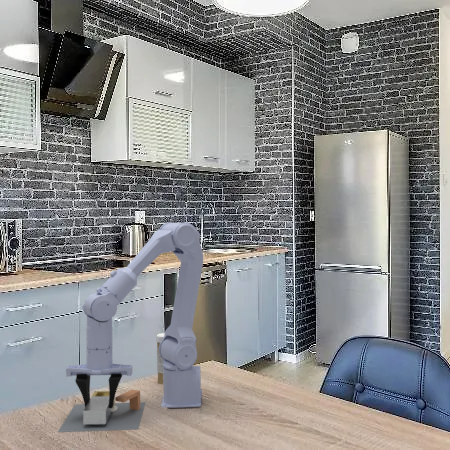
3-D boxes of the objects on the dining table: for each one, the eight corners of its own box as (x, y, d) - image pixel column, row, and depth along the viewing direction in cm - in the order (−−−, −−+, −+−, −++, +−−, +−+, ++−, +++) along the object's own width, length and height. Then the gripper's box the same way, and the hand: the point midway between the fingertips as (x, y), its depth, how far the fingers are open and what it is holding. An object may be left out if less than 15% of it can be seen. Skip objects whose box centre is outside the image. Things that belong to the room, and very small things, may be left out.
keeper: (132, 409, 132) (131, 389, 132) (140, 410, 131) (140, 390, 130) (115, 417, 126) (115, 397, 126) (124, 419, 125) (123, 398, 125)
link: (94, 403, 133) (94, 391, 133) (114, 403, 133) (114, 390, 133) (83, 424, 119) (83, 410, 119) (105, 424, 119) (105, 410, 119)
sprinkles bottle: (168, 379, 155) (167, 331, 154) (177, 383, 151) (176, 334, 151) (154, 383, 152) (153, 334, 151) (163, 386, 148) (162, 336, 148)
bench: (145, 403, 135) (145, 390, 135) (138, 431, 118) (138, 416, 118) (75, 406, 134) (74, 392, 134) (57, 433, 117) (57, 418, 117)
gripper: (62, 351, 121) (62, 413, 121) (129, 351, 122) (129, 412, 122) (70, 344, 128) (70, 402, 128) (133, 343, 129) (133, 402, 129)
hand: (99, 407), depth 125 cm, fingers closed on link, 5 cm apart
